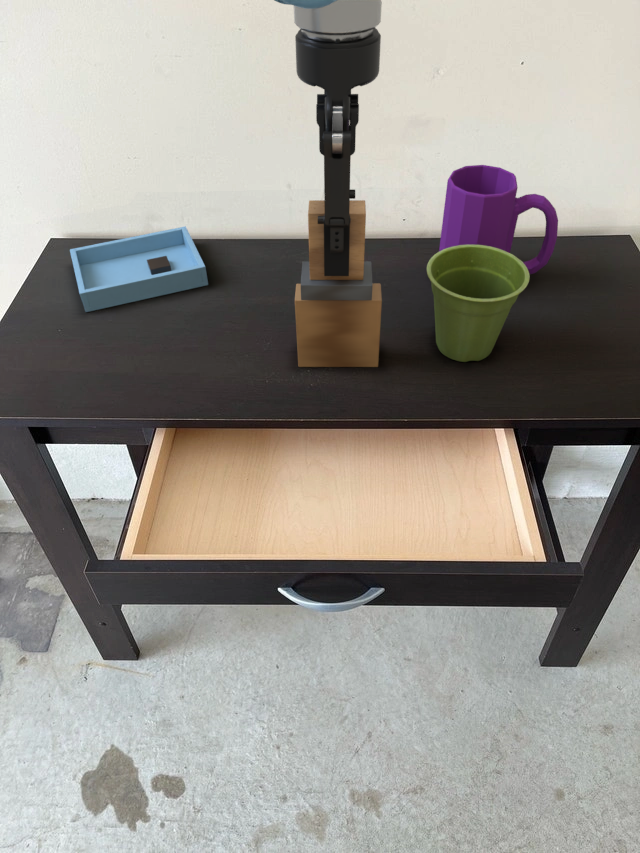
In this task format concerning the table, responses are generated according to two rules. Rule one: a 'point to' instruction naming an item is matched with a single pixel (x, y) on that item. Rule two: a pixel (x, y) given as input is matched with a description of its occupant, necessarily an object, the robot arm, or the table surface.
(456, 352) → the plant pot
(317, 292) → the brush
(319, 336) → the square wooden block
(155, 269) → the dark grey flat block
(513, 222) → the mug
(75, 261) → the pan
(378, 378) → the table surface
